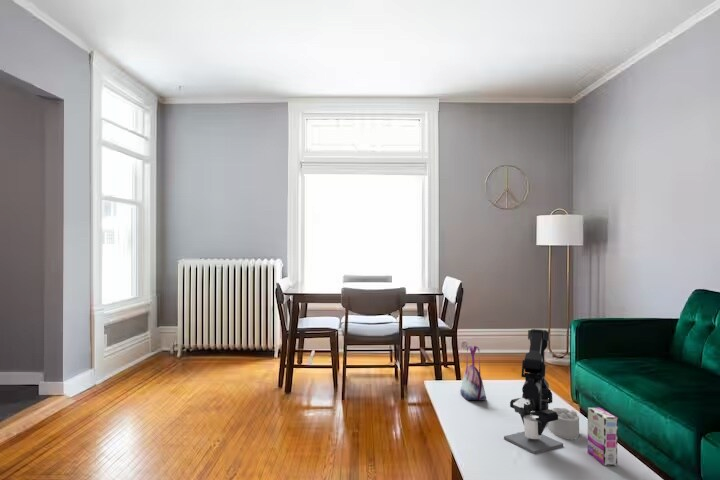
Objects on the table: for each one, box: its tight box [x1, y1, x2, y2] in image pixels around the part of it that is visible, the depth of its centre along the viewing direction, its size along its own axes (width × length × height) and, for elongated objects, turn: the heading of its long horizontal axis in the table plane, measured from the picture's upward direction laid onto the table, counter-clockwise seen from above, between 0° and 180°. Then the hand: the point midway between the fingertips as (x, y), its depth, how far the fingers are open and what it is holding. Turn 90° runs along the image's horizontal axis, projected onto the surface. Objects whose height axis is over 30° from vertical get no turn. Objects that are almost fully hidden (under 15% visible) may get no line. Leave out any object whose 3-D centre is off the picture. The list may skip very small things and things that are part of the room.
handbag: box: [459, 345, 487, 401], centre depth 238 cm, size 21×10×25 cm, turn 6°
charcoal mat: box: [503, 430, 564, 455], centre depth 183 cm, size 15×15×1 cm
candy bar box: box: [586, 406, 619, 467], centre depth 170 cm, size 11×5×16 cm, turn 4°
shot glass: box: [523, 414, 541, 439], centre depth 184 cm, size 7×7×7 cm
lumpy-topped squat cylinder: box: [547, 407, 580, 440], centre depth 193 cm, size 10×13×9 cm
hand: (533, 432), depth 184 cm, fingers closed on shot glass, 6 cm apart
